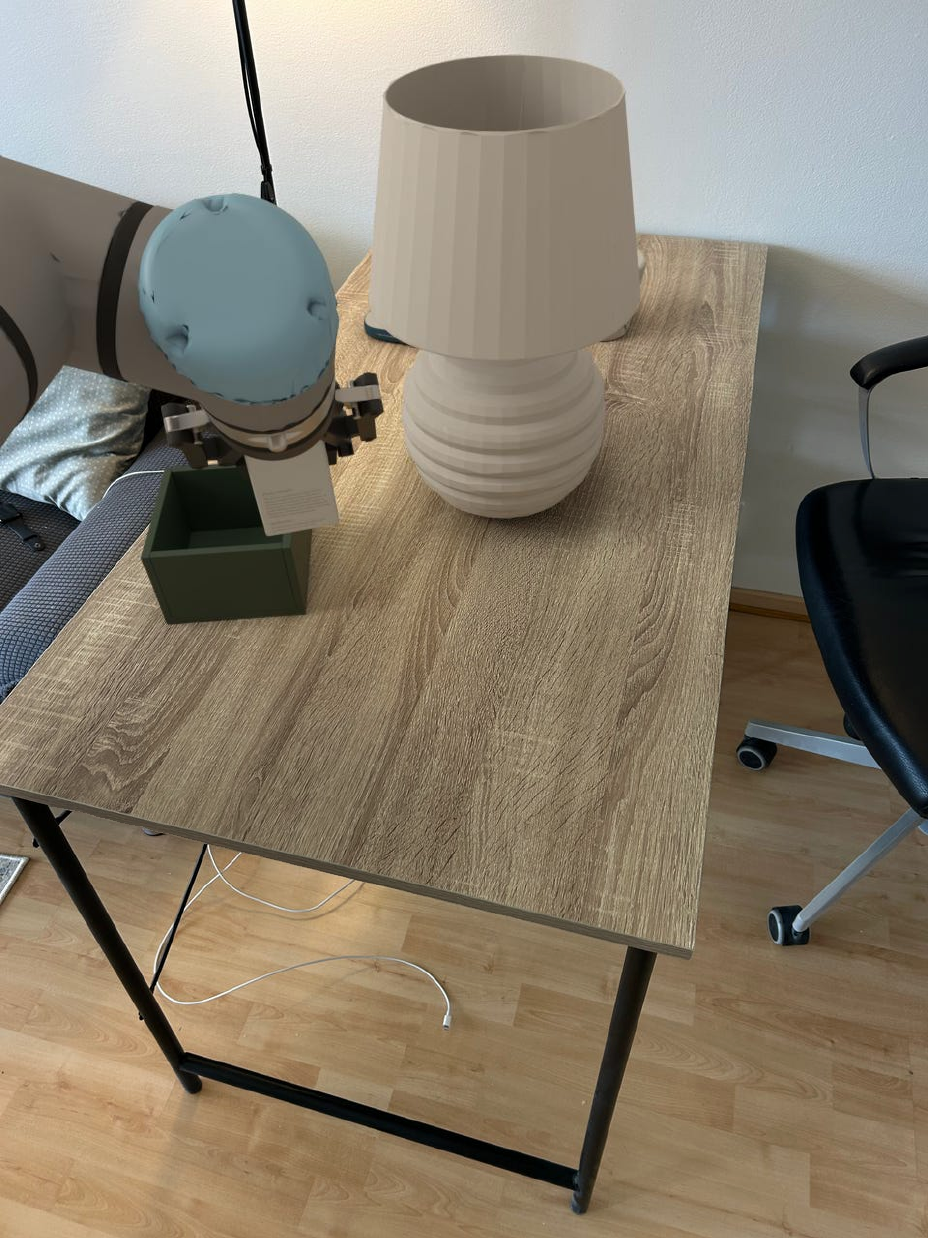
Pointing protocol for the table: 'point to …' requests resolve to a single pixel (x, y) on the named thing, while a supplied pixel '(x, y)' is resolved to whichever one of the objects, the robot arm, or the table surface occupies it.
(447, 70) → the table lamp
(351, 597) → the table surface
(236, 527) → the dark green open box
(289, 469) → the cosmetic box
